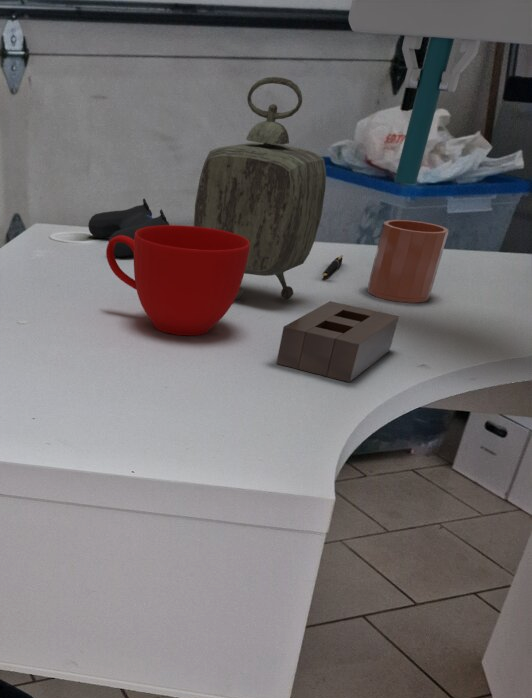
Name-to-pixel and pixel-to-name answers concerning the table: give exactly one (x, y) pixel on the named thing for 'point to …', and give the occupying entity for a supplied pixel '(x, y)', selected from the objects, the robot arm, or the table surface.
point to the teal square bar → (423, 109)
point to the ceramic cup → (184, 274)
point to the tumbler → (407, 260)
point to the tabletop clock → (265, 193)
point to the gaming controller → (124, 225)
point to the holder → (337, 340)
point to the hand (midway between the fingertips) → (428, 89)
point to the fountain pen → (333, 266)
